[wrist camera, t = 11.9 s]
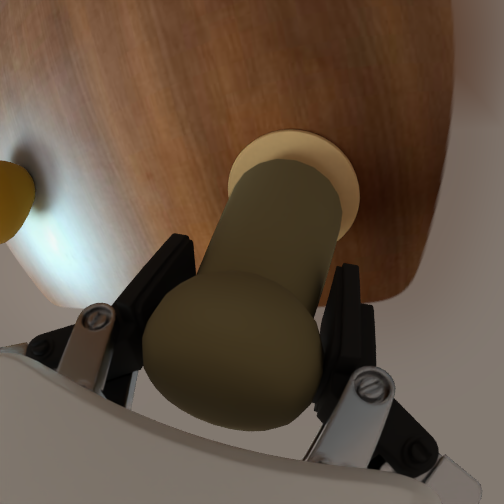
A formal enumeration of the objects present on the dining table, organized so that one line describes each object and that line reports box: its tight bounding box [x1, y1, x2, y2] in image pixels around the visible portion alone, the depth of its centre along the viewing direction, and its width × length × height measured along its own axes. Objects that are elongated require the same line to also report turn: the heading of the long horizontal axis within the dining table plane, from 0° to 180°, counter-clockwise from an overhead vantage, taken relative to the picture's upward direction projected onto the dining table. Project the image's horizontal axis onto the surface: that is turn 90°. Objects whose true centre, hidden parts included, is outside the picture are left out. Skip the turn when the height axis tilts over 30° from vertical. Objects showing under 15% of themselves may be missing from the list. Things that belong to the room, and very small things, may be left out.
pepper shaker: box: [142, 159, 342, 431], centre depth 11 cm, size 6×6×11 cm
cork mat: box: [228, 129, 360, 241], centre depth 17 cm, size 8×8×1 cm
